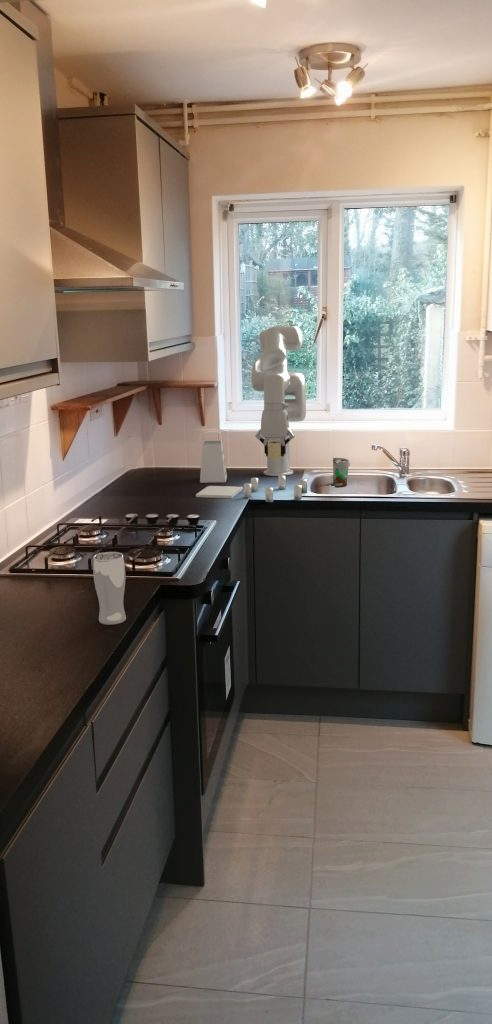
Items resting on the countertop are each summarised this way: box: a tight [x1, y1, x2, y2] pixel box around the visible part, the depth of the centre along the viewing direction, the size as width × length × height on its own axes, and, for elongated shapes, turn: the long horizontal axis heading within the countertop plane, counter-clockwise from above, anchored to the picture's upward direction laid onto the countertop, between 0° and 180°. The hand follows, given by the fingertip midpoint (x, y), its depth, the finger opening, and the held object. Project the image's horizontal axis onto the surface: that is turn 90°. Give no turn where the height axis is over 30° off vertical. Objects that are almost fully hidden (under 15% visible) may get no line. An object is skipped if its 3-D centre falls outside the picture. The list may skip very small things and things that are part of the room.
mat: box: [195, 485, 244, 499], centre depth 312 cm, size 16×14×1 cm
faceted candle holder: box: [268, 441, 283, 460], centre depth 303 cm, size 6×5×6 cm
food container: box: [332, 457, 351, 489], centre depth 319 cm, size 12×6×10 cm, turn 179°
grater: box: [199, 430, 228, 483], centre depth 335 cm, size 10×10×20 cm
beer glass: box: [92, 551, 127, 626], centre depth 182 cm, size 7×7×15 cm
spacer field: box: [243, 476, 308, 503], centre depth 306 cm, size 25×22×5 cm
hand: (275, 455), depth 303 cm, fingers closed on faceted candle holder, 5 cm apart
